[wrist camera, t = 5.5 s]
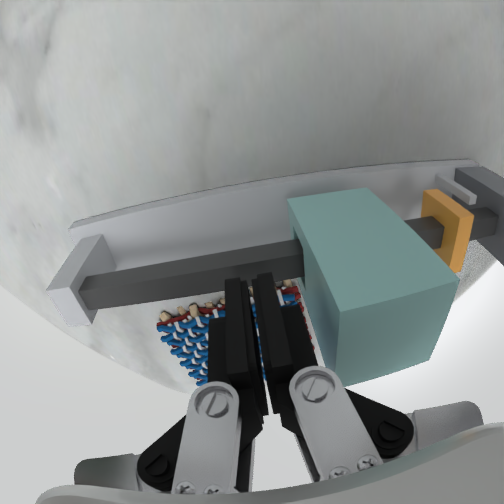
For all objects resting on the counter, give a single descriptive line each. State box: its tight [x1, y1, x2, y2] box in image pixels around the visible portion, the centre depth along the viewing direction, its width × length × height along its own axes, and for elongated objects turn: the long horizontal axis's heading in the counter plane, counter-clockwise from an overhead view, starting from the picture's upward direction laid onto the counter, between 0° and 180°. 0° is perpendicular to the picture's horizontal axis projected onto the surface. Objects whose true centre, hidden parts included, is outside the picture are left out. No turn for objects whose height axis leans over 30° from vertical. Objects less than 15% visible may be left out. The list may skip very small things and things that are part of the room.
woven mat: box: [157, 279, 315, 386], centre depth 22 cm, size 10×11×2 cm
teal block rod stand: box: [46, 159, 504, 327], centre depth 14 cm, size 28×4×8 cm, turn 99°
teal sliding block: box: [287, 187, 460, 387], centre depth 11 cm, size 4×4×7 cm
